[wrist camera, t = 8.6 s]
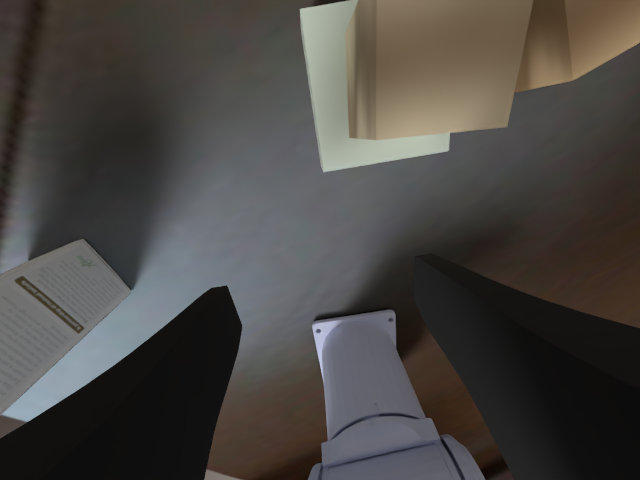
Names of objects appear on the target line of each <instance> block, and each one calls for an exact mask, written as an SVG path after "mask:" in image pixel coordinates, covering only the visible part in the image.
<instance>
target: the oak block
mask: <svg viewBox="0 0 640 480" xmlns="http://www.w3.org/2000/svg"><path fill="white" fill-rule="evenodd" d="M638 43H640V0H533V5H532V10H531V14H530V19H529V24H528V29H527V34H526V38H525V43H524V48H523V53H522V58H521V62H520V67H519V72H518V77H517V82H516V86H515V91H514V92H520V91H525V90H530V89H535V88H539V87H544V86H549V85H554V84H559V83H563V82H568V81H573V80H575V79H577V78H578V77H580V76H582V75H584V74H585V73H587V72H589V71H591V70H593V69H594V68H596V67H598V66H600V65H601V64H603V63H605V62H607V61H608V60H610V59H612V58H614V57H615V56H617V55H619V54H621V53H622V52H624V51H626V50H628V49H629V48H631V47H633V46H635V45H636V44H638Z"/></svg>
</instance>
